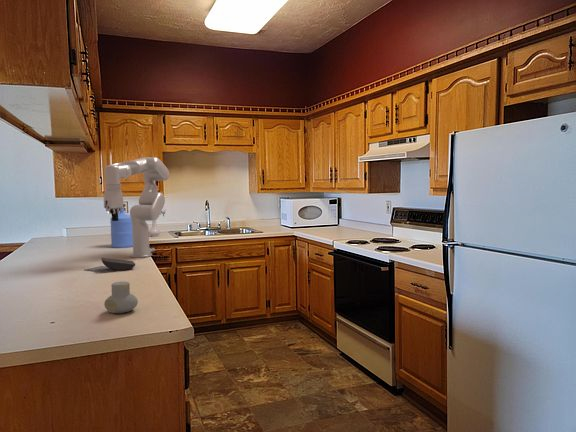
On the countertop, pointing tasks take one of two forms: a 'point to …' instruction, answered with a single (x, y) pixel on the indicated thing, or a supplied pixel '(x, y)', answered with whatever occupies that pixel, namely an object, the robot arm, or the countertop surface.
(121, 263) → the leaning round-cornered charcoal block
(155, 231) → the flower vase
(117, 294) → the air freshener
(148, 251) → the robot arm
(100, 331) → the countertop surface
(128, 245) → the water jug
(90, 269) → the mat
